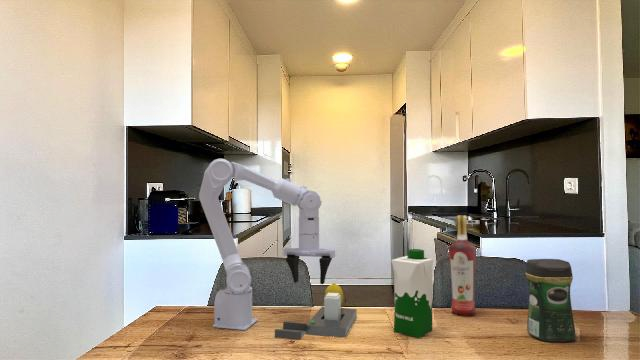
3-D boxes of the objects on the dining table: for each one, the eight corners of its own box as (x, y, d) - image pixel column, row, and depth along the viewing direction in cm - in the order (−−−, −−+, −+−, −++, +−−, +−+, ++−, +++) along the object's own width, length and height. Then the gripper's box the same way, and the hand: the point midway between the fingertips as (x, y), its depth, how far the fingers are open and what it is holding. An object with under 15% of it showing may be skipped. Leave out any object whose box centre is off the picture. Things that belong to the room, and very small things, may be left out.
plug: (324, 327, 100) (324, 295, 100) (327, 322, 103) (327, 292, 103) (337, 328, 99) (337, 296, 99) (340, 323, 102) (340, 293, 103)
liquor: (479, 311, 112) (477, 215, 112) (474, 319, 105) (472, 216, 106) (453, 308, 115) (451, 214, 116) (447, 314, 109) (445, 216, 110)
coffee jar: (561, 331, 96) (559, 256, 97) (581, 343, 88) (579, 262, 89) (521, 330, 96) (520, 256, 97) (538, 343, 88) (536, 261, 89)
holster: (274, 338, 93) (274, 329, 93) (284, 329, 99) (284, 321, 99) (300, 340, 91) (300, 332, 91) (308, 331, 97) (308, 323, 98)
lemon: (341, 313, 111) (341, 285, 111) (323, 312, 112) (322, 284, 112) (344, 308, 116) (344, 281, 116) (326, 307, 117) (326, 280, 117)
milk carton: (437, 330, 97) (436, 250, 97) (420, 340, 90) (418, 255, 91) (406, 322, 103) (405, 247, 103) (388, 331, 96) (387, 251, 97)
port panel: (305, 334, 95) (305, 323, 95) (322, 314, 110) (322, 305, 110) (345, 337, 92) (345, 326, 92) (356, 317, 108) (356, 307, 108)
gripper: (279, 234, 105) (279, 284, 105) (330, 235, 102) (331, 287, 101) (288, 231, 112) (288, 278, 112) (336, 233, 108) (337, 281, 108)
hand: (309, 282), depth 107 cm, fingers open, 7 cm apart
